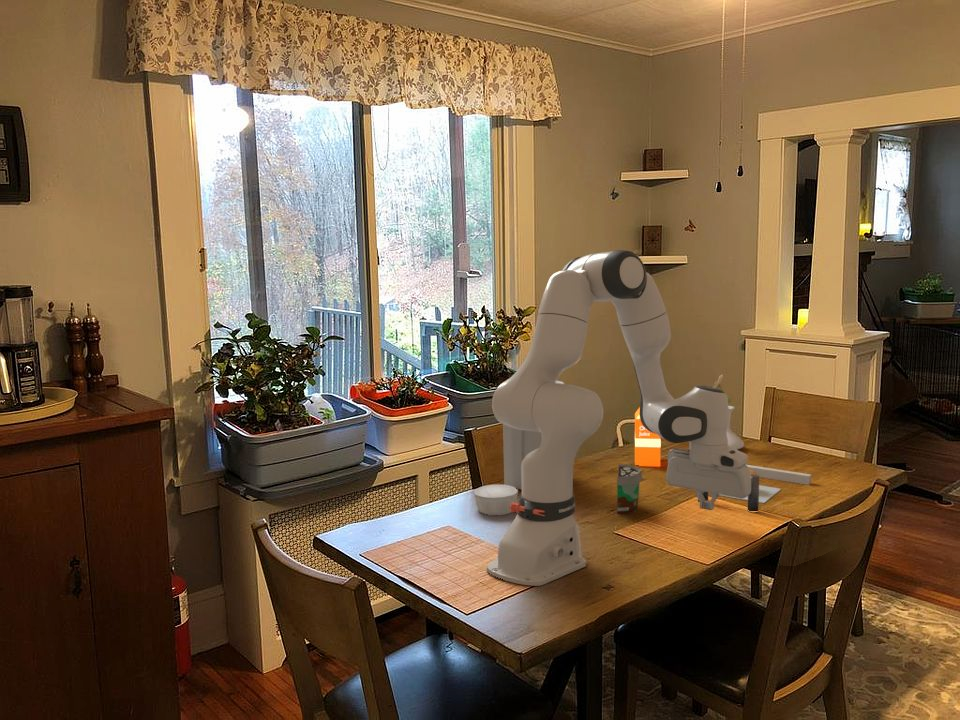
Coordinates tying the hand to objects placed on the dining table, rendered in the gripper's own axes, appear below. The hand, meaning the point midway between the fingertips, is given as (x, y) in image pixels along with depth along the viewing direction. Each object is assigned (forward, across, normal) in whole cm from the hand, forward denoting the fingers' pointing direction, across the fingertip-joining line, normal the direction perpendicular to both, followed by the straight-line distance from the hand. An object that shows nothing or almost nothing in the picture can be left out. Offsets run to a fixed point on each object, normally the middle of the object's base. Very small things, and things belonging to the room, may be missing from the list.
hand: (706, 508), depth 195 cm
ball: (0, -1, +29) cm, 29 cm away
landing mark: (+3, -1, +29) cm, 29 cm away
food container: (+4, -20, 0) cm, 21 cm away
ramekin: (+4, -48, -21) cm, 53 cm away
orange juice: (+3, -36, +40) cm, 54 cm away
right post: (+3, +6, +15) cm, 16 cm away
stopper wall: (+3, -1, +45) cm, 45 cm away
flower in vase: (+3, -22, +68) cm, 71 cm away
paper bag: (+4, -49, +4) cm, 50 cm away
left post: (+3, -7, +15) cm, 17 cm away
